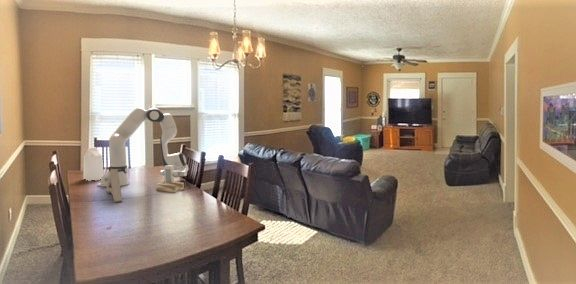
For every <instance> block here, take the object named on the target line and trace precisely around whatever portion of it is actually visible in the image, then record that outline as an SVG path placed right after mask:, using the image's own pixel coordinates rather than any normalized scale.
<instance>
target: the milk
mask: <svg viewBox="0 0 576 284" xmlns="http://www.w3.org/2000/svg"><path fill="white" fill-rule="evenodd" d="M102 156H103V155H102V154H101V153H100V151H99V150H98V147H96V146H93V147H92V146H91V147H88V148H87V149H86V152H85V153H84V155H83V173H82V174H83V178H82V179H83V180H84V179H86V180H85V181H87V180H88V181H87V182H92V181H91V180H95V181H101V180H100V179H101V177H102V176H103V175H104V174H105V173H104V163H103V157H102Z"/></svg>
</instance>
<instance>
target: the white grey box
mask: <svg viewBox="0 0 576 284" xmlns="http://www.w3.org/2000/svg"><path fill="white" fill-rule="evenodd" d="M163 167H164V169H163V170H164V171H165V176H164V182H165V181H170V182H175V177H174V176H172V173H174V170H173V167H174V166H168V165H166V166H164V165H163Z"/></svg>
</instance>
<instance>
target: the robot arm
mask: <svg viewBox="0 0 576 284" xmlns="http://www.w3.org/2000/svg"><path fill="white" fill-rule="evenodd" d="M147 120H148V121H149V122H151V123H159V125H160V129H161V131H162V132H161V133H162V134H161V136H160V139H159V141H160V151H161V163H162V165H163V167H164V166H166V165H168V166H173V170H174V173H172V176H174V178H180V177H186V176H187V175H188V171H189V165H188V164H187V163H188V161H187V157H186V155H185V154H184V153H183V152H181V151H180V152H177V153H171V154H169V148H168V143H169V142H170V141H171V140H173V139H174V138H175V137H176V136H177V134H178V129H177V124H176V122H175V120H174V117H173V115H172V114H171V113H163V112H162V111H161V110H160V109H159V108H157V107H150V108H148V109H144V108H143V107H136V108H134V109H133V111H131V113H129V114H128V116H127V117H126V118H125V119H124V120H123V122H122V123H121V124H120V125H119V127H117V129H116V130H115V131H114V132H113V133H112V134H111V135H110V137H109V139H108V144H109V146H108V147H109V157H110V159H109V161H110V166H109V167H107V170H108V171H107V172H106V173H104V175H103V176H102V177H101V180H100V182H98V183H97V187H107V183H108V178H109V174H110V170H113V169H118V175H119V182H120V187H121V186H127V185H130V180H129V175H128V165H127V151H126V150H127V149H126V142H127V141H128V140H129V139H130V137H132V135H133V134H135V132H136V131H137V130H138V128H139V127H140V126H141V125H142V124H143V123H144V122H145V121H147ZM158 174H159V176H164V177H165V171H164V169H161V170H159V173H158Z"/></svg>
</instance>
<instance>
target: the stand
mask: <svg viewBox="0 0 576 284" xmlns="http://www.w3.org/2000/svg"><path fill="white" fill-rule="evenodd" d="M155 186H156V187H155V191H161V192H169V193H170V192H171V193H175V192H179V190H180V191H182V190H185V183H184V182H181V181H180V182H179V181H178V182H177V181H174V182H170V181H165V180H164V183H156V185H155Z"/></svg>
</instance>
